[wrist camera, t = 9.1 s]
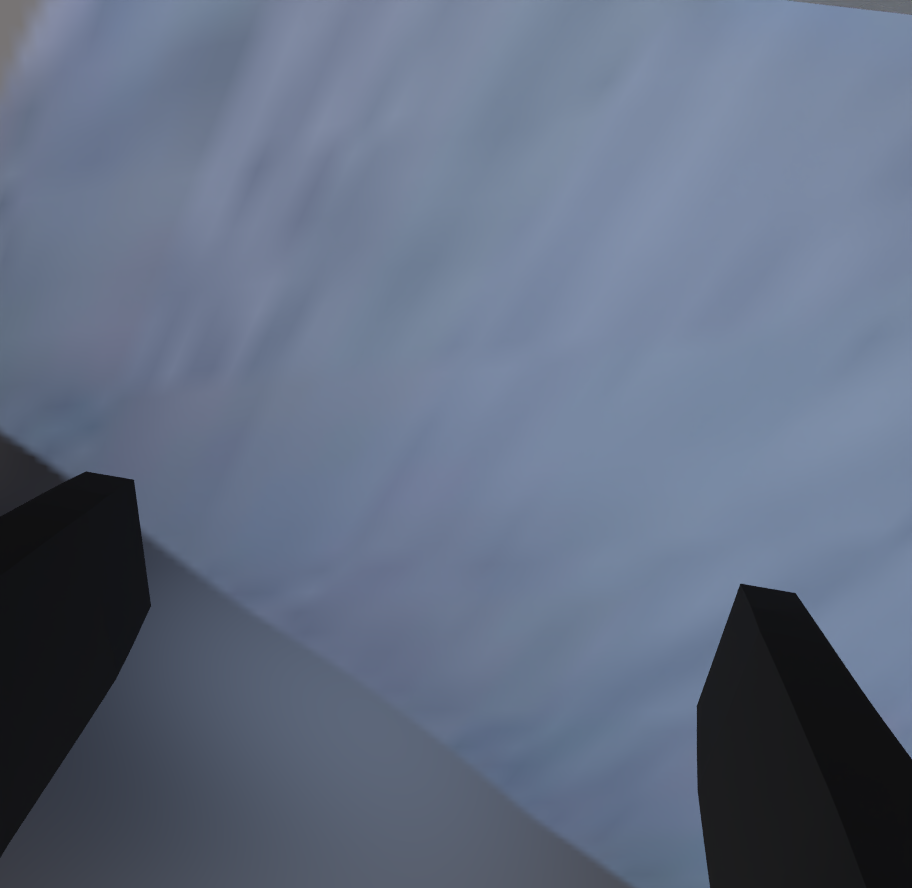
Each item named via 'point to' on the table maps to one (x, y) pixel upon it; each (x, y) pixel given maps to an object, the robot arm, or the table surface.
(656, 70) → the table surface
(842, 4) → the shaft block
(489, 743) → the table surface
